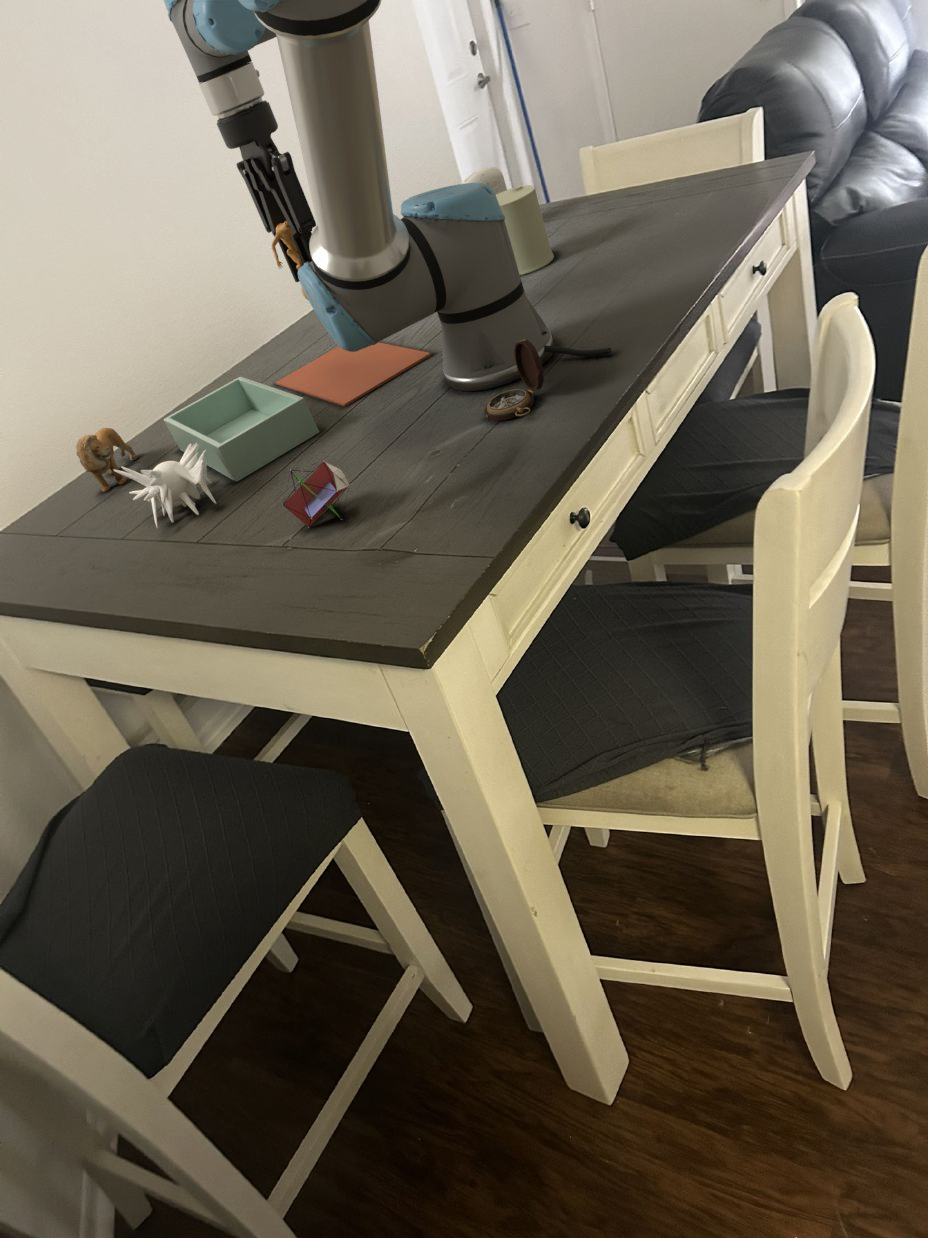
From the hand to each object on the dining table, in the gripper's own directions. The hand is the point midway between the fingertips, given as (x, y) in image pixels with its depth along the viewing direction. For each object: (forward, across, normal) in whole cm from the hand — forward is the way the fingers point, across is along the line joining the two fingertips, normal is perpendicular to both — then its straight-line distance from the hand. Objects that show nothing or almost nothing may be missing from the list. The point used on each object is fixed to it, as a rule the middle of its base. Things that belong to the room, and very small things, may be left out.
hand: (311, 278), depth 136 cm
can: (+15, +1, -38) cm, 41 cm away
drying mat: (+15, 0, 0) cm, 15 cm away
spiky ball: (+15, -16, +36) cm, 42 cm away
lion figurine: (+15, +10, +37) cm, 41 cm away
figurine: (+3, +2, 0) cm, 4 cm away
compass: (+15, -42, -1) cm, 45 cm away
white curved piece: (+15, +23, -48) cm, 55 cm away
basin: (+15, -4, +21) cm, 26 cm away
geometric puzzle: (+15, -39, +26) cm, 49 cm away
